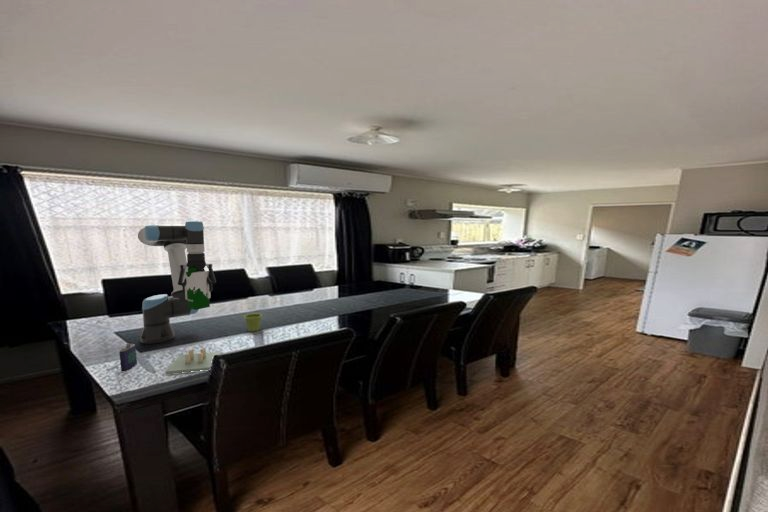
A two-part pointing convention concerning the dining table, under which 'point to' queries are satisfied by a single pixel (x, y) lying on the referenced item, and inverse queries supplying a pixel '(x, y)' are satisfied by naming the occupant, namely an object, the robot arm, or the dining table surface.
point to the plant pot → (253, 322)
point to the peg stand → (192, 362)
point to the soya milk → (197, 289)
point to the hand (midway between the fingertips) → (198, 298)
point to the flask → (128, 357)
